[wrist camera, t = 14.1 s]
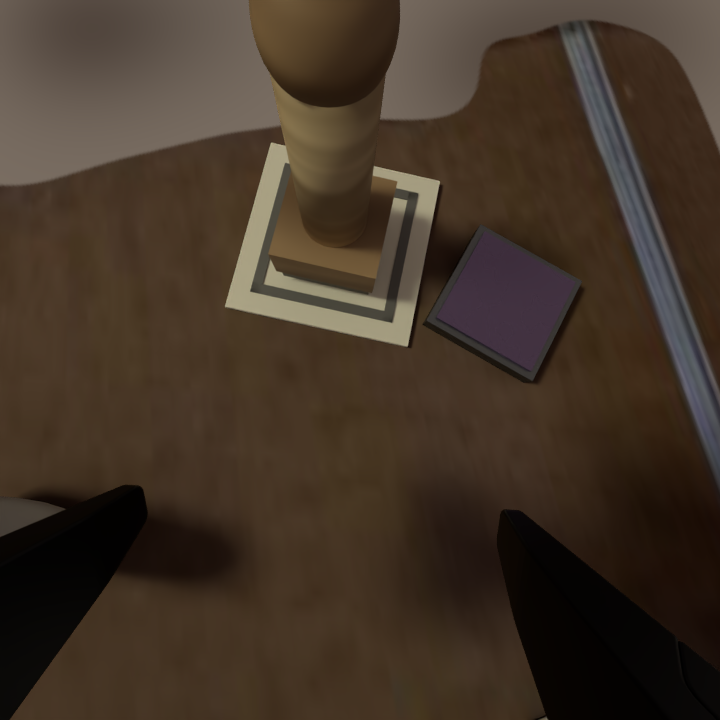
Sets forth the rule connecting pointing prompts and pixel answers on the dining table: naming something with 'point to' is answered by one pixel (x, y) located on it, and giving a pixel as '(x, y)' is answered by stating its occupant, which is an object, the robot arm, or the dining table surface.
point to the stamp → (329, 133)
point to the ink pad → (503, 304)
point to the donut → (22, 513)
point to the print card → (326, 303)
